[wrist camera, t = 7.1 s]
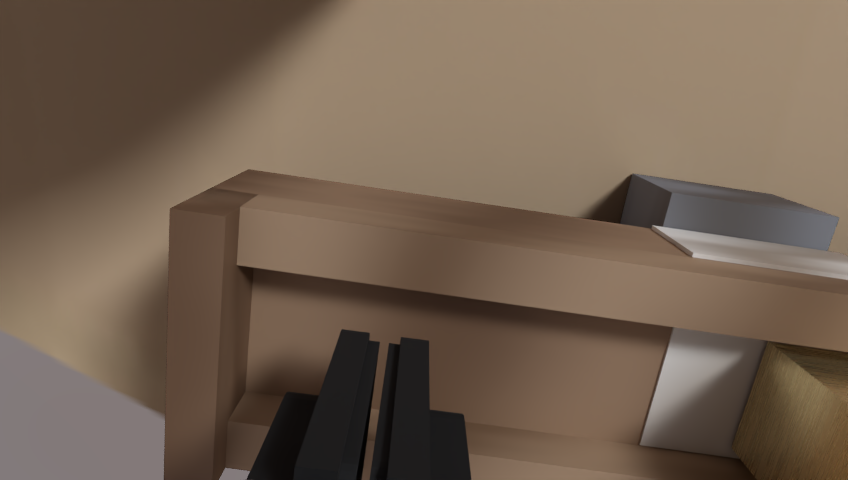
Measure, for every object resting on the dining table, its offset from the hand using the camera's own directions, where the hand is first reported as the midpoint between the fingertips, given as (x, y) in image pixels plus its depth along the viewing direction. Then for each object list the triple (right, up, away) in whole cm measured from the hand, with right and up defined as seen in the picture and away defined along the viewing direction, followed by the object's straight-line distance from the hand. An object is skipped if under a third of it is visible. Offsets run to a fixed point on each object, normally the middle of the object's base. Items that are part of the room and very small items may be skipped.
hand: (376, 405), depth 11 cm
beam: (+9, +1, +8) cm, 12 cm away
